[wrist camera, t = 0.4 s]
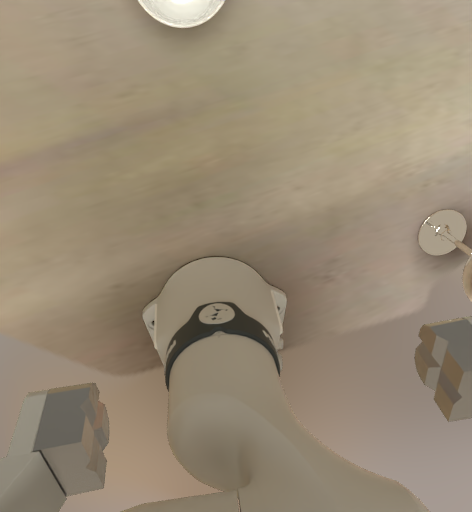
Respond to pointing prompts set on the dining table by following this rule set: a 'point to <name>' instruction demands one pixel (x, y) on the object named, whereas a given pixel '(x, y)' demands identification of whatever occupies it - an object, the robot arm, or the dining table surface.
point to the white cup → (181, 11)
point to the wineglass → (447, 240)
